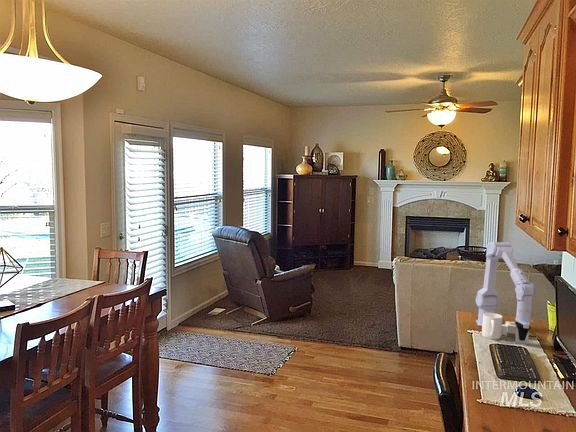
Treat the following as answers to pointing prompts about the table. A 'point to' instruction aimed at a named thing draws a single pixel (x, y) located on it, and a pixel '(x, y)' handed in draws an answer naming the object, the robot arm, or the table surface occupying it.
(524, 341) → the white upright block
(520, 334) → the robot arm
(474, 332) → the table surface
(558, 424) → the table surface
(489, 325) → the mug
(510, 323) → the slotted upright plate
